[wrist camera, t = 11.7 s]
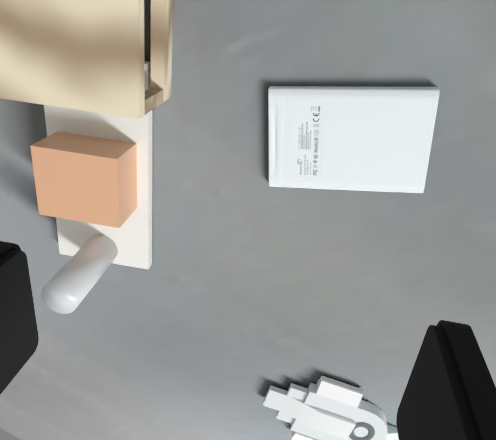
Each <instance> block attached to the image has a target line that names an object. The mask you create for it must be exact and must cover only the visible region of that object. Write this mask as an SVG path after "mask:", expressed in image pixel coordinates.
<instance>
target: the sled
mask: <svg viewBox="0 0 496 440" xmlns="http://www.w3.org/2000/svg"><path fill="white" fill-rule="evenodd" d="M144 87H145V90H147V89H149V88H151V62H148V61H144ZM44 112H45V121H46V131H47V137H46V138H44V139H42V140H40V141H38V142H36V143H34V144H33V145H31V146H30V147H31V155H32V163H33V170H34V178H35V186H36V194H37V202H38V210H39V215H45V216H51V217H56V224H57V233H58V243H59V252H60V254H64V255H70V256H73V257H72V258H71V259H70V260H69V261H68V262H67V263H66V264H65V265H64V266H63V267H62V268H61V269H60V270H59V272H58V273H57V274H56V275H55V276H54V277H53V278H52V279H51V280H50V281H49V282H48V283H47V284H46V285H45V286H44V287H43V289H42V293H41V294H42V299H43V301H44V303H45V304H46V305H47V306H48V307H49V308H50V309H52V310H53V311H55V312H58V313H62V314H68V313H71V312H73V311H74V310H75V309H76V307H77V306H78V305H79V304H80V302H81V301H82V300H83V299H84V297H85V296H86V295H87V293H88V292H89V291H90V290H91V288H92V287H93V286H94V285H95V283H96V282H97V281H98V280H99V278H100V277H101V276H102V275H103V273H104V272H105V271H106V269H107V268H108V267H109V266H110V264H111V263H114V264H120V265H125V266H131V267H137V268H142V269H149V268H150V266H151V265H152V110H151V111H150V112H149V113H147V114H146V115H144V116H143V117H141V118H140V119H137V118H130V117H123V116H116V115H110V114H103V113H96V112H89V111H82V110H76V109H69V108H62V107H55V106H48V105H44Z"/></svg>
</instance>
